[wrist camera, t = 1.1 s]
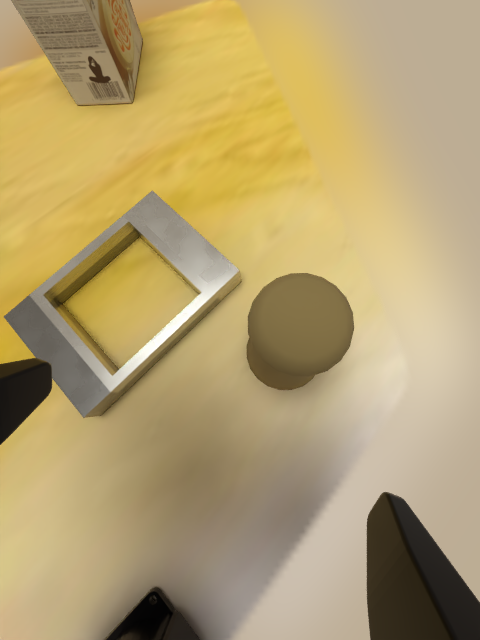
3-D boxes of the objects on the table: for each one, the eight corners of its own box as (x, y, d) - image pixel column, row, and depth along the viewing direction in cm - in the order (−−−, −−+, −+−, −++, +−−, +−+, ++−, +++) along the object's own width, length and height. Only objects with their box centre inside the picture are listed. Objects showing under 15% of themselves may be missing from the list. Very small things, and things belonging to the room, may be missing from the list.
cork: (313, 309, 25) (354, 244, 14) (330, 383, 23) (390, 372, 13) (240, 321, 25) (228, 265, 14) (252, 395, 24) (248, 395, 13)
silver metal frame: (100, 415, 24) (83, 417, 21) (26, 323, 26) (3, 316, 24) (241, 281, 26) (239, 270, 24) (161, 207, 28) (152, 190, 26)
